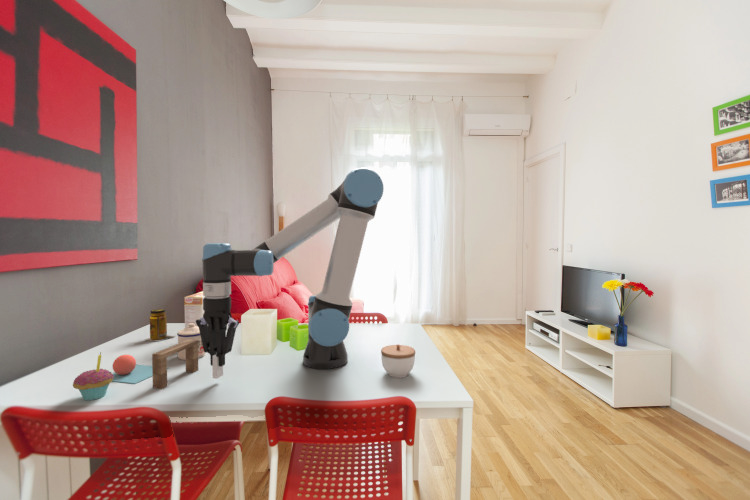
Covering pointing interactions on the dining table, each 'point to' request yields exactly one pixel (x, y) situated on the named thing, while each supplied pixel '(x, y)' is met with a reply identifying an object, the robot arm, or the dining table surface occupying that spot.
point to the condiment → (158, 325)
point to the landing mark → (135, 375)
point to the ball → (124, 364)
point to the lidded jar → (398, 360)
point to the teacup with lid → (187, 334)
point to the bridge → (161, 361)
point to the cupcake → (93, 382)
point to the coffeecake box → (193, 308)
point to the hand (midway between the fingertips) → (217, 376)
